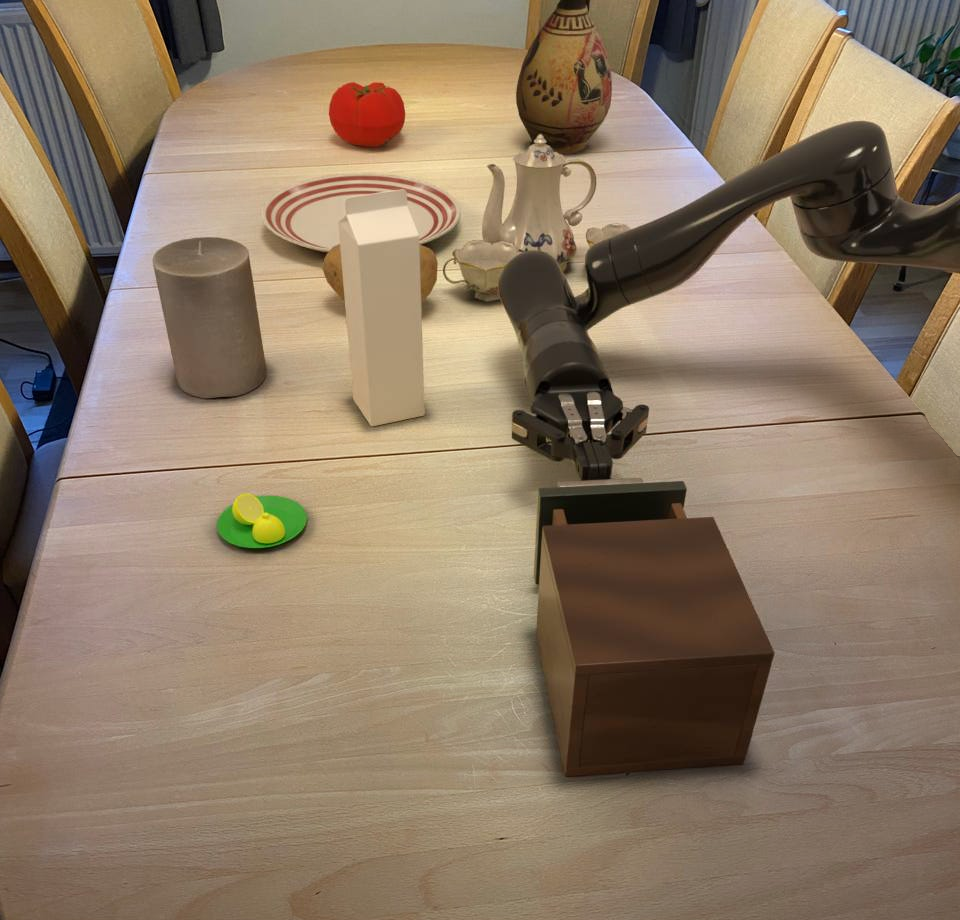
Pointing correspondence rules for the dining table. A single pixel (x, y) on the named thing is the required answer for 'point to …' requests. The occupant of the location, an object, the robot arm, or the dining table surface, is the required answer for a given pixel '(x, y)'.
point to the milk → (383, 306)
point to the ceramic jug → (565, 80)
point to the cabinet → (648, 646)
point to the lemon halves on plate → (261, 521)
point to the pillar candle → (211, 316)
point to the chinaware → (526, 220)
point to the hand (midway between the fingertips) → (598, 476)
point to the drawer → (606, 504)
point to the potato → (335, 276)
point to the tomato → (366, 113)
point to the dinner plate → (321, 205)
